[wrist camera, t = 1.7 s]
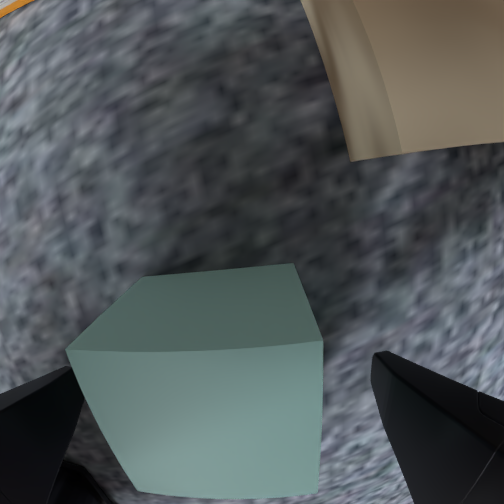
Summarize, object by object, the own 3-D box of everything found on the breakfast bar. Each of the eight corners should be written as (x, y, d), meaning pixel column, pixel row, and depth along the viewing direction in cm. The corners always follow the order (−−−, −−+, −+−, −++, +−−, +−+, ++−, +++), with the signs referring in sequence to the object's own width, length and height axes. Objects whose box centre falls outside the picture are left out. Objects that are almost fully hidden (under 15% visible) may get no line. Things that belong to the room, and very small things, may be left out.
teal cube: (299, 387, 11) (317, 493, 6) (172, 393, 11) (137, 491, 6) (292, 262, 10) (323, 340, 5) (142, 276, 10) (65, 349, 5)
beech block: (512, 140, 9) (580, 138, 5) (348, 162, 9) (402, 154, 5) (452, -22, 7) (495, -60, 3) (283, -33, 8) (292, -103, 4)
